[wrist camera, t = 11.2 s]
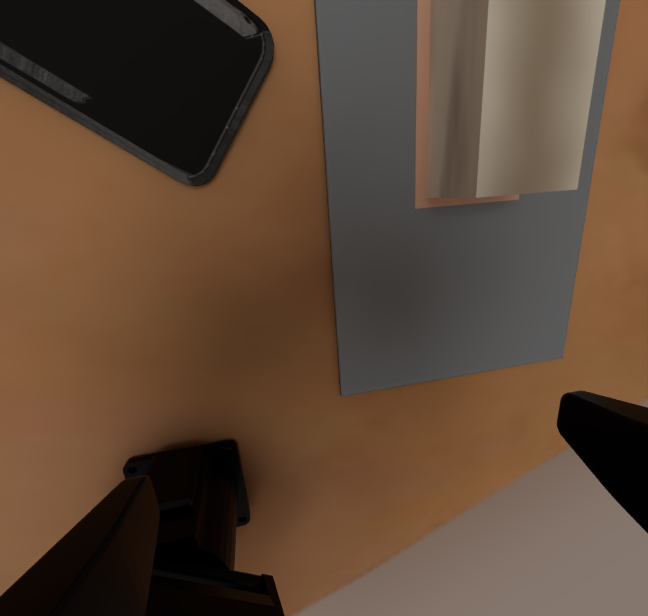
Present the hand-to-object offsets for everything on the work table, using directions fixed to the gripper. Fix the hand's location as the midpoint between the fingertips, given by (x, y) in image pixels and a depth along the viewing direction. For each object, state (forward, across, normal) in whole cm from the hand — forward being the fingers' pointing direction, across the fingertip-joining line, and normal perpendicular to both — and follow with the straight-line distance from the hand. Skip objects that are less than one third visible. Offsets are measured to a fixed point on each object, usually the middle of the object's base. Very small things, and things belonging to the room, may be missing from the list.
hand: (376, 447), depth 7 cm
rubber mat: (+13, -10, -5) cm, 17 cm away
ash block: (+13, -10, -10) cm, 19 cm away
